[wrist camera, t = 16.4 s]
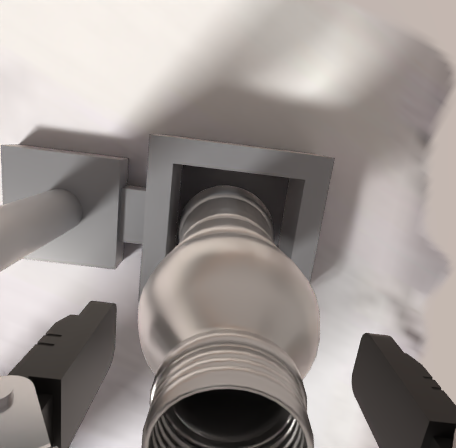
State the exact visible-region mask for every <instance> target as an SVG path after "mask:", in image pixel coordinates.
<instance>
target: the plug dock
mask: <svg viewBox="0 0 456 448" xmlns="http://www.w3.org/2000/svg"><path fill="white" fill-rule="evenodd" d="M334 159H335V158H332V157H327V156H322V155H317V154H311V153H303V152H296V151H288V150H280V149H272V148H264V147H257V146H249V145H241V144H233V143H225V142H218V141H210V140H202V139H194V138H186V137H179V136H171V135H157V134H150V136H149V151H148V166H147V181H146V187H138V186H130V185H127V176H128V158H123V157H115V156H107V155H99V154H91V153H83V152H75V151H67V150H59V149H51V148H43V147H35V146H27V145H19V144H16V145H1V163H2V190H3V205H1V206H0V272H1V271H2V270H4V269H6V268H7V267H9V266H11V265H12V264H14V263H16V262H17V261H19V260H21V259H28V260H37V261H46V262H54V263H63V264H72V265H81V266H89V267H98V268H107V269H116V268H117V267H118V265H119V264H120V263H121V262H122V261H123V252H124V242H126V243H134V244H142V256H141V271H140V286H139V301H140V297H141V294H142V291H143V288H144V286H145V284H146V283H147V281H148V279H149V277H150V275H151V274H152V273H153V271H154V270H155V268H156V267H157V266H158V265H159V263H160V262H161V261H162V260H163V259H164V258H165V257H166V256H167V255H168V254H169V253H170V252H171V251H172V250H173V249H174V248H175V243H176V232H177V221H178V210H179V199H180V189H181V178H182V167H183V165H190V166H198V167H206V168H214V169H222V170H230V171H238V172H246V173H254V174H262V175H270V176H278V177H286V178H289V183H288V189H287V195H286V201H285V207H284V213H283V219H282V225H281V230H280V236H279V242H278V248H279V249H280V250H281V251H282V252H283V253H284V254H286V255H287V256H288V257H289V258H290V259H291V260H292V261H293V262H294V263H295V265H296V266H297V267H298V268H299V270H300V271H301V272H302V273H303V275H304V276H305V277H306V279H307V280H308V281H309V283H310V280H311V275H312V270H313V265H314V260H315V255H316V250H317V245H318V240H319V235H320V229H321V224H322V219H323V214H324V209H325V204H326V199H327V194H328V189H329V184H330V179H331V174H332V169H333V164H334ZM139 301H138V304H139ZM137 318H138V316H137Z"/></svg>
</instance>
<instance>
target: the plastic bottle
mask: <svg viewBox="0 0 456 448" xmlns="http://www.w3.org/2000/svg"><path fill="white" fill-rule="evenodd" d="M178 236H179V244H178V245H177V246H176V247H175V248H174V249H173V250H172V251H171V252H170V253H169V254H168V255H167V256H166V257H165V258H164V259H163V260H162V261H161V262H160V263H159V265H158V266H157V267H156V268H155V270H154V271H153V273H152V274H151V275H150V277H149V279H148V281H147V283H146V284H145V286H144V288H143V291H142V294H141V297H140V301H139V304H138V331H139V338H140V344H141V350H142V352H143V355H144V357H145V359H146V362H147V364H148V366H149V367H150V369H151V370H152V372H153V373H154V375H155V379H154V382H153V385H152V388H151V393H150V409H149V412H148V415H147V419H146V422H145V425H144V428H143V435H142V448H314V440H313V433H312V429H311V426H310V422H309V419H308V415H307V396H306V392H305V389H304V385H303V382H302V380H303V379H304V377H305V376H306V375H307V373H308V372H309V370H310V369H311V366H312V364H313V362H314V360H315V358H316V355H317V350H318V345H319V340H320V313H319V307H318V303H317V299H316V295H315V293H314V291H313V289H312V287H311V285H310V283H309V281H308V280H307V279H306V277H305V276H304V275H303V273H302V272H301V271H300V270H299V268H298V267H297V266H296V265H295V263H294V262H293V261H292V260H291V259H290V258H289V257H288V256H287V255H286V254H284V253H283V252H282V251H281V250H280V249H279V248H278V247H277V246H276V245H275V244H274V226H273V221H272V218H271V215H270V213H269V211H268V209H267V207H266V206H265V205H264V204H263V202H262V201H261V200H260V199H259V198H258V197H256V196H255V195H254V194H252V193H251V192H249V191H247V190H245V189H242V188H239V187H236V186H228V185H223V186H214V187H210V188H207V189H205V190H203V191H201V192H199V193H198V194H196V195H195V196H194V197H192V198H191V199H190V201H189V202H188V203H187V204H186V205H185V207H184V209H183V211H182V213H181V216H180V219H179V228H178Z"/></svg>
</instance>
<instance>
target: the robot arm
mask: <svg viewBox="0 0 456 448" xmlns="http://www.w3.org/2000/svg"><path fill="white" fill-rule="evenodd" d="M116 313H117V308H116V304H115V303H106V302H97V301H91V302H89V304H88V305H87V306H86V307H85V308H84V310H83V311H82V312H81V313H80V314H79V316H78V315H69V316H67V317H65V318H63V319H62V320H60V321H58V322H56V323H55V324H54V325H53V326H52V327H51V328H50V329H49V331H48V332H47V333H46V335H44V336H43V337H42V338H41V339H40V340H39V341H38V344H37V345H35V346H34V347H33V348H32V349H31V350H30V351H29V352H28V353H27V354H26V356H25V357H24V358H23V359H22V360H21V361H20V362H19V363H18V364H17V365H16V366H15V368H14V369H13V370H12V371H11V372H10V373H9V374H8V375H7V376H1V377H0V448H69V446H70V444H71V442H72V440H73V438H74V436H75V434H76V432H77V430H78V428H79V426H80V424H81V422H82V420H83V419H84V417H85V415H86V413H87V411H88V409H89V407H90V405H91V403H92V401H93V399H94V397H95V395H96V393H97V391H98V389H99V387H100V385H101V383H102V381H103V379H104V378H105V376H106V374H107V372H108V370H109V368H110V365H111V363H112V359H113V355H114V350H115V334H116ZM352 389H353V393H354V396H355V398H356V400H357V402H358V404H359V406H360V408H361V410H362V413H363V415H364V417H365V419H366V421H367V423H368V425H369V427H370V429H371V431H372V433H373V436H374V438H375V440H376V442H377V444H378V446H379V448H456V405H455V404H454V403H453V402H452V400H451V399H450V398H449V397H448V396H447V394H446V393H445V392H444V391H442V390H441V387H440V386H439V385H438V383H437V382H436V381H435V380H433V379H432V376H431V375H430V374H429V373H428V372H427V370H426V369H425V368H424V367H423V366H422V365H421V364H420V363H419V362H418V361H416V360H415V359H413V358H412V357H411V356H409V355H408V354H407V353H404V352H403V351H402V350H401V348H400V347H399V346H398V345H397V343H396V342H395V341H394V340H393V338H392V337H391V336H388V335H380V334H371V333H365V334H364V335H363V336H362V338H361V341H360V345H359V349H358V353H357V357H356V361H355V365H354V369H353V373H352Z"/></svg>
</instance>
